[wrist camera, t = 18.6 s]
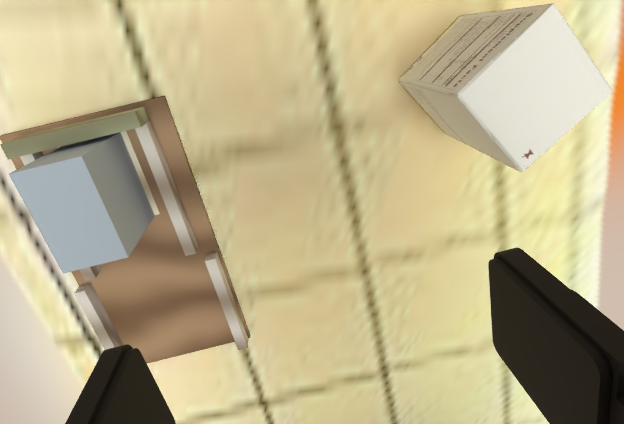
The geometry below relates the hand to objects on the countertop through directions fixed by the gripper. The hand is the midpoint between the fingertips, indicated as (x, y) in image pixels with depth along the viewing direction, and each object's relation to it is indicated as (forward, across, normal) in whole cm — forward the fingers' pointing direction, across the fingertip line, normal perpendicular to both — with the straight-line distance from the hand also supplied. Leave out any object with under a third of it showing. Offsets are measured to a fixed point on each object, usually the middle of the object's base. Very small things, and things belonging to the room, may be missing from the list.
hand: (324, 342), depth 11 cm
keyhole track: (+28, +16, +8) cm, 33 cm away
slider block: (+28, +16, +1) cm, 32 cm away
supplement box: (+28, -16, -1) cm, 32 cm away
